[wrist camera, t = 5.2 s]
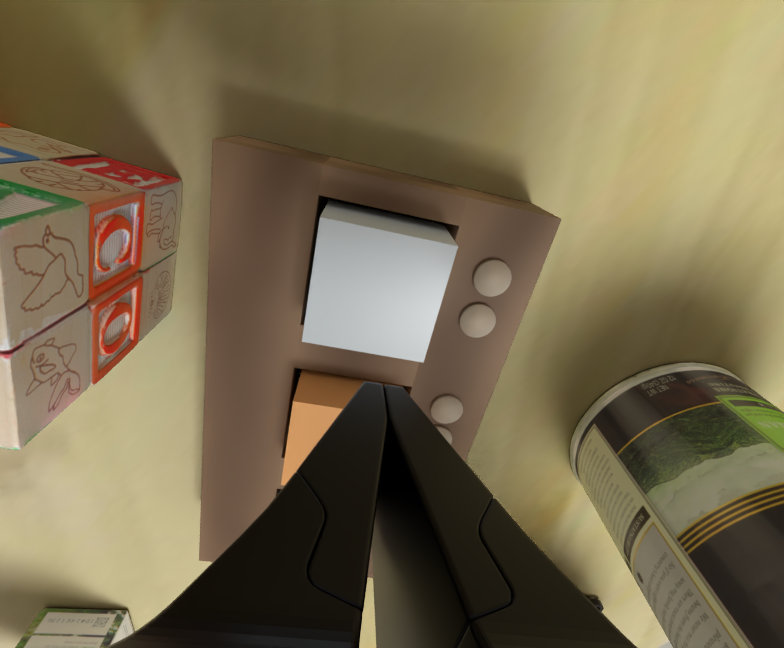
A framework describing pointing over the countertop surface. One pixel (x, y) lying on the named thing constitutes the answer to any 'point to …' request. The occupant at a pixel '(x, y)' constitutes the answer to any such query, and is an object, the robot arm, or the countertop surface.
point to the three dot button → (316, 413)
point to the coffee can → (692, 500)
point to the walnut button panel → (289, 303)
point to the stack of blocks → (75, 271)
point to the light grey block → (377, 281)
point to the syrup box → (77, 628)
